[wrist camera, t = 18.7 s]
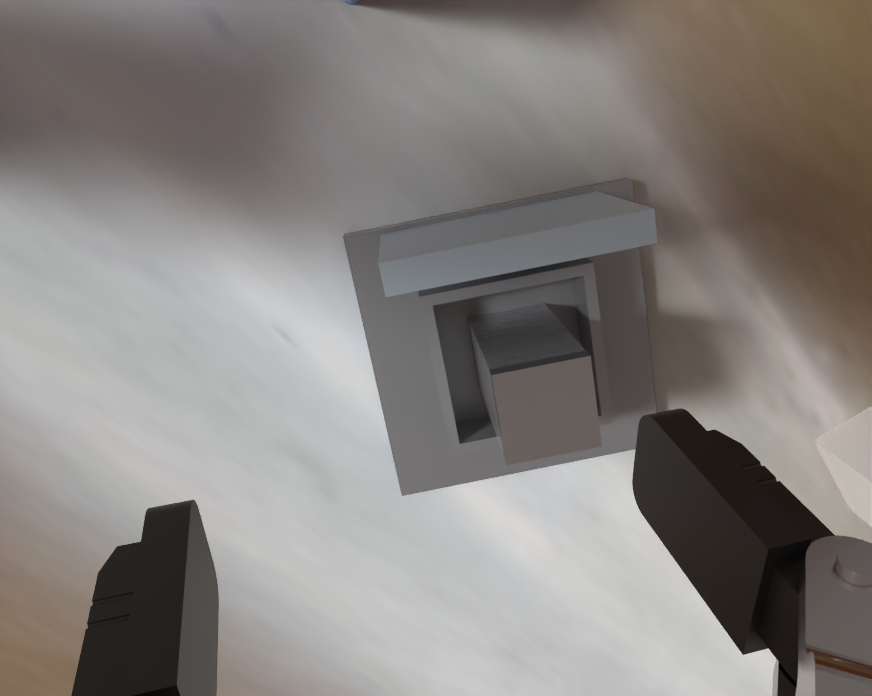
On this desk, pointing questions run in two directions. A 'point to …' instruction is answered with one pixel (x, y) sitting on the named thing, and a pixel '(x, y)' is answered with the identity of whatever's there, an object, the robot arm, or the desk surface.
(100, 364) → the desk surface
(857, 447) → the white cube
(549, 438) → the tall gray block
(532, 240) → the dock
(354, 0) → the ink cartridge box
